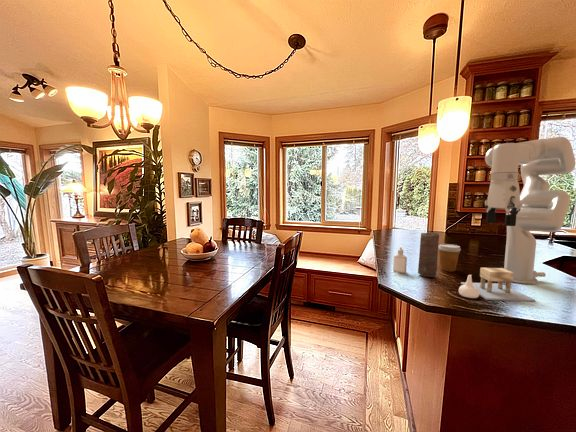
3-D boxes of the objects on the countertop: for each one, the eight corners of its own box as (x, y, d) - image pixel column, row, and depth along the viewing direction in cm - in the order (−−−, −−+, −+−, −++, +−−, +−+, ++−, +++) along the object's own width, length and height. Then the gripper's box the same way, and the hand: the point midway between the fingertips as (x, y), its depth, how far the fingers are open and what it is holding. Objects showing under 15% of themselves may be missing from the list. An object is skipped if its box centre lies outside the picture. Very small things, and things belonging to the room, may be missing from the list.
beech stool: (500, 287, 100) (502, 268, 99) (511, 293, 94) (513, 272, 94) (478, 287, 101) (480, 267, 100) (488, 292, 95) (490, 271, 94)
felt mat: (501, 285, 105) (501, 283, 104) (535, 301, 89) (535, 299, 89) (460, 283, 106) (460, 282, 106) (486, 299, 90) (486, 298, 90)
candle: (439, 279, 111) (441, 234, 109) (420, 278, 112) (423, 234, 110) (432, 274, 118) (435, 231, 116) (415, 273, 119) (417, 231, 118)
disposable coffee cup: (459, 268, 127) (460, 245, 126) (459, 273, 119) (461, 248, 118) (437, 265, 132) (438, 243, 131) (436, 270, 124) (437, 246, 123)
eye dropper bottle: (400, 274, 119) (401, 248, 117) (391, 270, 124) (392, 246, 123) (407, 272, 120) (408, 248, 119) (398, 269, 125) (399, 245, 124)
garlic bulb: (458, 292, 98) (457, 272, 98) (478, 294, 95) (477, 273, 95) (459, 298, 93) (458, 276, 93) (480, 300, 90) (479, 278, 89)
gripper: (535, 176, 84) (530, 227, 86) (497, 179, 102) (494, 221, 103) (511, 176, 85) (506, 227, 87) (477, 179, 102) (474, 221, 104)
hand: (500, 224), depth 95 cm, fingers open, 9 cm apart
